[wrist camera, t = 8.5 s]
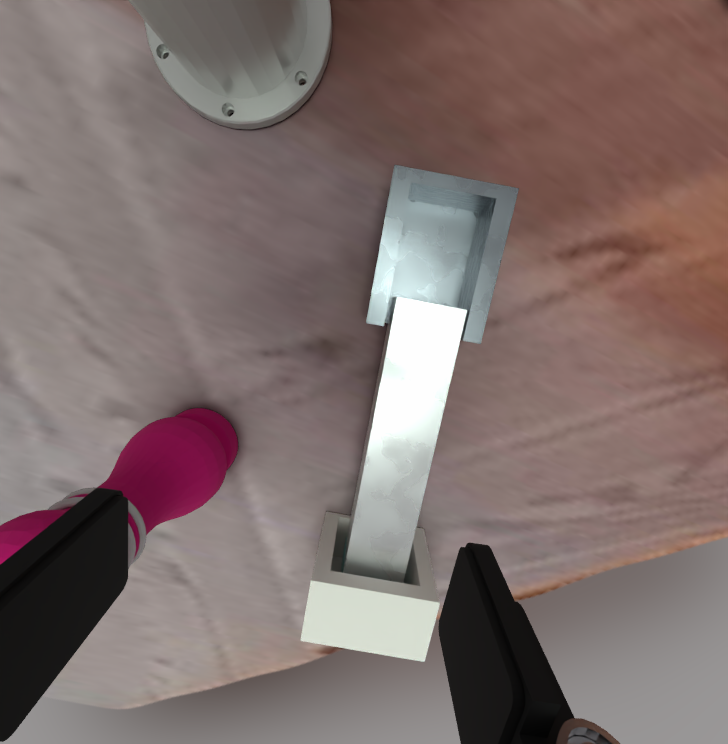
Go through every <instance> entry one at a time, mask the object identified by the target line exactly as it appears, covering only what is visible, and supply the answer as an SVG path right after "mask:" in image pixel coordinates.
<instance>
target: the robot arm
mask: <svg viewBox="0 0 728 744" xmlns="http://www.w3.org/2000/svg"><path fill="white" fill-rule="evenodd" d="M128 1H129V2H130V3H131V4H132V6H133V7H134V8H135V9H136V10H137V12H138V13H139V14H140V15H141V16H142V18H143V19H144V24H145V29H146V34H147V39H148V44H149V46H150V49H151V52H152V55H153V57H154V60H155V63H156V64H157V66H158V68H159V70H160V72H161V73H162V75H163V77H164V79H165V80H166V81H167V83H168V84H169V85H170V86H171V88H172V89H173V90H174V91H175V93H176V94H177V95H178V96H179V97H180V98H181V99H182V100H183V101H184V102H185V103H186V104H187V105H188V106H189V107H190V108H192V109H193V110H194V111H196V112H197V113H198V114H200V115H201V116H203V117H204V118H206V119H208V120H210V121H212V122H215V123H217V124H219V125H222V126H226V127H230V128H235V129H256V128H262V127H267V126H270V125H273V124H275V123H277V122H280V121H282V120H284V119H286V118H287V117H288V116H290V115H291V114H293V113H294V112H296V111H297V110H298V109H299V108H300V107H301V106H302V105H303V104H304V103H305V102H306V101H307V100H308V99H309V98H310V96H311V95H312V93H313V92H314V90H315V88H316V87H317V85H318V84H319V82H320V80H321V78H322V75H323V73H324V70H325V68H326V66H327V62H328V58H329V53H330V49H331V41H332V17H331V7H330V1H329V0H128ZM302 82H305V83H306V84H305V85H302V86H300V84H301V83H302ZM233 112H234V113H233ZM231 113H233V115H232V116H231V117H230V114H231ZM127 579H128V499H127V497H124V496H123V493H122V491H120V490H114V489H107V488H96V489H94V490H93V491H92V492H90V493H89V494H88V495H87V496H85V497H84V498H83V499H82V500H80V501H79V502H78V503H77V504H75V505H74V506H73V507H72V508H70V509H69V510H68V511H67V512H65V513H64V514H63V515H62V516H60V517H59V518H58V519H57V520H55V521H54V522H53V523H52V524H50V525H49V526H48V527H47V528H45V529H44V530H43V531H42V532H40V533H39V534H38V535H37V536H35V537H34V538H33V539H32V540H30V541H29V542H28V543H27V544H25V545H24V546H23V547H22V548H20V549H19V550H18V551H17V552H15V553H14V554H13V555H12V556H10V557H9V558H8V559H7V560H5V561H4V562H3V563H2V564H0V741H2V742H3V741H5V740H7V739H8V738H9V737H10V736H11V735H12V734H13V733H14V732H15V730H16V729H17V728H18V727H19V725H20V724H21V723H22V721H23V720H24V719H25V717H26V716H27V715H28V713H29V712H30V711H31V709H32V708H33V707H34V706H35V704H36V703H37V701H38V700H39V699H40V698H41V696H42V695H43V694H44V693H45V691H46V690H47V689H48V687H49V686H50V685H51V683H52V682H53V681H54V679H55V678H56V677H57V676H58V674H59V673H60V672H61V670H62V669H63V668H64V666H65V665H66V664H67V662H68V661H69V660H70V659H71V657H72V656H73V655H74V653H75V652H76V651H77V649H78V648H79V647H80V645H81V644H82V643H83V642H84V640H85V639H86V638H87V636H88V635H89V634H90V632H91V631H92V630H93V629H94V627H95V626H96V625H97V623H98V622H99V621H100V619H101V618H102V617H103V615H104V614H105V613H106V612H107V610H108V609H109V608H110V606H111V605H112V604H113V602H114V601H115V600H116V598H117V597H118V596H119V595H120V593H121V592H122V590H123V589H124V587H125V585H126V582H127ZM439 636H440V642H441V646H442V651H443V656H444V661H445V666H446V671H447V676H448V681H449V686H450V691H451V696H452V701H453V706H454V711H455V716H456V721H457V725H458V731H459V736H460V741H461V744H620V743H619V742H618V741H617V740H616V739H615V738H613V736H611V735H610V734H609V733H608V732H607V731H606V730H604V729H602V728H601V727H599V726H597V725H596V724H595V723H592V722H589V721H587V720H584V719H575V718H574V716H573V714H572V712H571V710H570V707H569V705H568V703H567V701H566V699H565V697H564V695H563V693H562V690H561V688H560V686H559V684H558V682H557V680H556V677H555V675H554V673H553V671H552V669H551V667H550V665H549V663H548V660H547V658H546V656H545V654H544V652H543V650H542V648H541V646H540V643H539V641H538V639H537V637H536V635H535V633H534V630H533V628H532V626H531V624H530V622H529V620H528V618H527V615H526V613H525V611H524V609H523V608H522V606H521V605H520V604H519V603H518V602H515V601H514V599H513V597H512V594H511V592H510V590H509V588H508V585H507V583H506V581H505V579H504V577H503V574H502V572H501V570H500V568H499V565H498V563H497V561H496V559H495V557H494V554H493V552H492V550H491V548H490V547H489V546H488V545H482V544H475V543H468V544H467V545H466V547H461V548H460V550H459V553H458V556H457V560H456V563H455V567H454V570H453V574H452V577H451V581H450V584H449V588H448V591H447V595H446V598H445V602H444V605H443V609H442V612H441V616H440V620H439Z"/></svg>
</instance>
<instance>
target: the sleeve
mask: <svg viewBox="0 0 728 744" xmlns="http://www.w3.org/2000/svg"><path fill="white" fill-rule="evenodd" d="M518 190H519V188H514V187H509V186H504V185H498V184H493V183H488V182H483V181H477V180H472V179H467V178H462V177H456V176H451V175H446V174H440V173H435V172H430V171H425V170H419V169H414V168H409V167H404V166H398V165H394V171H393V176H392V182H391V187H390V193H389V199H388V204H387V210H386V215H385V221H384V226H383V232H382V237H381V243H380V248H379V254H378V259H377V265H376V271H375V276H374V282H373V287H372V293H371V298H370V304H369V309H368V315H367V320H366V323H369V324H375V325H380V326H384V322H385V323H388V320H389V315H390V310H391V304H392V299H393V297H399V298H405V299H410V300H416V301H421V302H426V303H432V304H437V305H443V306H448V307H454V308H459V309H464V310H467V313H466V317H465V322H464V326H463V330H462V334H461V340H463V341H468V342H473V343H478V344H481V340H482V336H483V332H484V328H485V324H486V320H487V316H488V312H489V308H490V304H491V299H492V295H493V291H494V287H495V283H496V279H497V275H498V271H499V267H500V263H501V259H502V255H503V251H504V247H505V243H506V239H507V235H508V231H509V226H510V222H511V218H512V214H513V210H514V206H515V202H516V198H517V194H518Z"/></svg>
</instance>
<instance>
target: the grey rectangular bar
mask: <svg viewBox="0 0 728 744" xmlns="http://www.w3.org/2000/svg"><path fill="white" fill-rule="evenodd" d="M466 313H467V310H464V309H459V308H454V307H448V306H443V305H437V304H432V303H426V302H421V301H416V300H410V299H405V298H399V297H393V299H392V304H391V310H390V315H389V320H388V325H387V330H386V336H385V341H384V346H383V351H382V356H381V362H380V367H379V372H378V377H377V382H376V388H375V393H374V398H373V403H372V408H371V414H370V419H369V424H368V429H367V434H366V439H365V445H364V450H363V455H362V460H361V465H360V471H359V476H358V481H357V486H356V491H355V497H354V502H353V507H352V512H351V517H350V523H349V528H348V533H347V537H346V540H345V545H344V551H343V556H342V564H341V572H342V573H347V574H353V575H359V576H365V577H370V578H376V579H382V580H388V581H393V582H399V583H403V581H404V577H405V573H406V569H407V564H408V560H409V556H410V552H411V547H412V543H413V539H414V535H415V530H416V526H417V522H418V518H419V513H420V509H421V505H422V501H423V496H424V492H425V488H426V483H427V479H428V475H429V471H430V466H431V462H432V458H433V454H434V449H435V445H436V441H437V437H438V432H439V428H440V424H441V420H442V415H443V411H444V407H445V402H446V398H447V394H448V390H449V385H450V381H451V377H452V373H453V368H454V364H455V360H456V356H457V351H458V347H459V343H460V339H461V334H462V330H463V326H464V322H465V317H466Z"/></svg>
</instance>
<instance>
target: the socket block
mask: <svg viewBox="0 0 728 744" xmlns="http://www.w3.org/2000/svg"><path fill="white" fill-rule="evenodd" d="M350 517H351V516H349V515H344V514H338V513H332V512H327V511H326V514H325V518H324V523H323V528H322V532H321V537H320V542H319V546H318V551H317V555H316V560H315V565H314V569H313V574H312V578H311V584H310V589H309V595H308V601H307V607H306V612H305V618H304V624H303V629H302V635H301V641H305V642H311V643H317V644H323V645H329V646H334V647H340V648H346V649H352V650H358V651H364V652H370V653H376V654H381V655H387V656H394V657H399V658H405V659H410V660H416V661H422V662H424V661H425V658H426V654H427V650H428V646H429V643H430V639H431V635H432V631H433V627H434V624H435V620H436V616H437V612H438V608H439V604H440V601H439V596H438V592H437V587H436V583H435V578H434V574H433V569H432V564H431V560H430V555H429V551H428V546H427V542H426V537H425V533H424V529H423V528H418V527H416V530H415V535H414V539H413V543H412V547H411V552H410V556H409V560H408V564H407V569H406V573H405V577H404V581H403V583H399V582H393V581H388V580H382V579H376V578H370V577H365V576H359V575H353V574H347V573H342V572H341V564H342V556H343V551H344V545H345V540H346V537H347V533H348V528H349V523H350Z"/></svg>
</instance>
